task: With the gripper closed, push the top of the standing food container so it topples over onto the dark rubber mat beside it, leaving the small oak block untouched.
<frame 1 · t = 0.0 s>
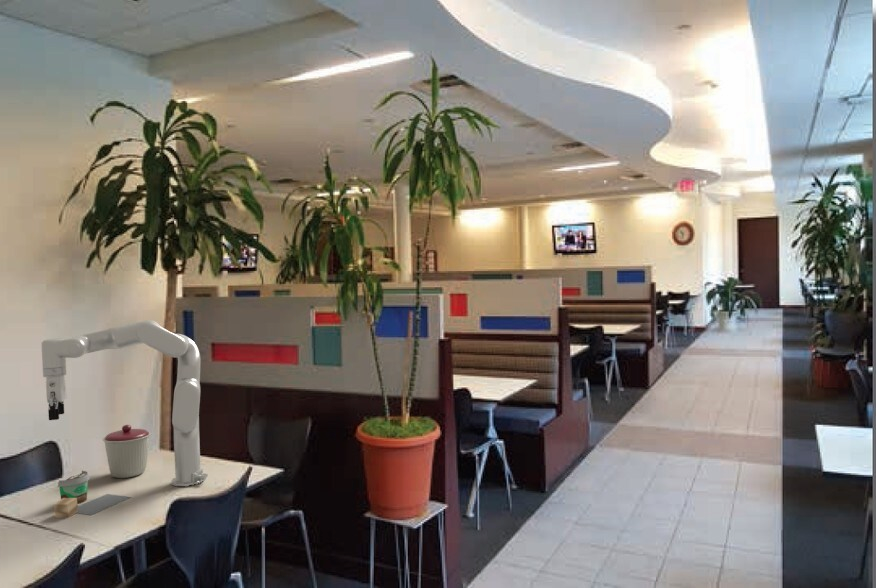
hand: (56, 416, 237), 31 cm above the table, tool pointing down, fingers open, 9 cm apart
oak block: (67, 514, 221), on the table, tilted 5°, touching mat
canister: (128, 474, 266), on the table
food container: (79, 502, 234), on the table
mat: (99, 505, 231), on the table
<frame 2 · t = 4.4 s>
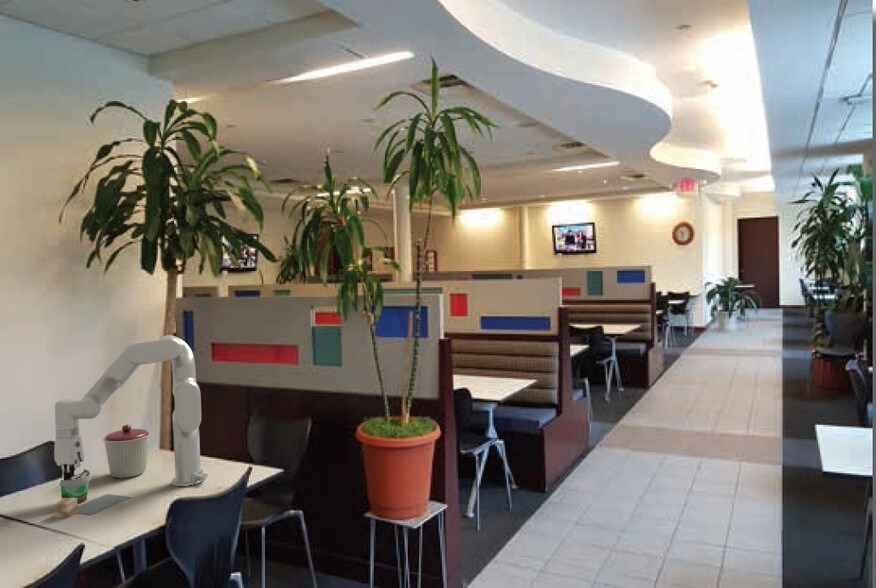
hand: (69, 481, 235), 7 cm above the table, tool pointing down, fingers closed
food container: (78, 502, 234), on the table, touching gripper
everything else where it was.
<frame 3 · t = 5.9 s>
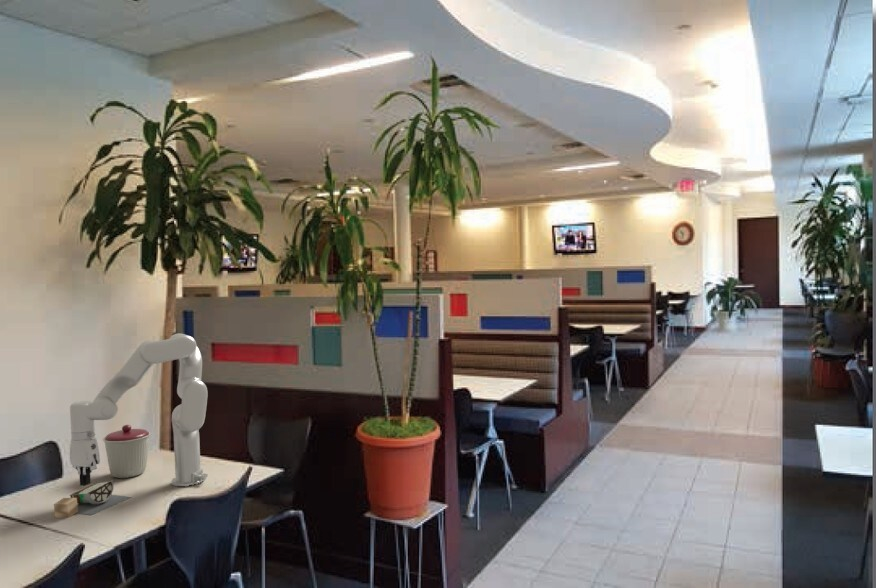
hand: (85, 484, 233), 7 cm above the table, tool pointing down, fingers closed
food container: (82, 497, 234), point 2 cm above the table, touching mat
everything else where it was.
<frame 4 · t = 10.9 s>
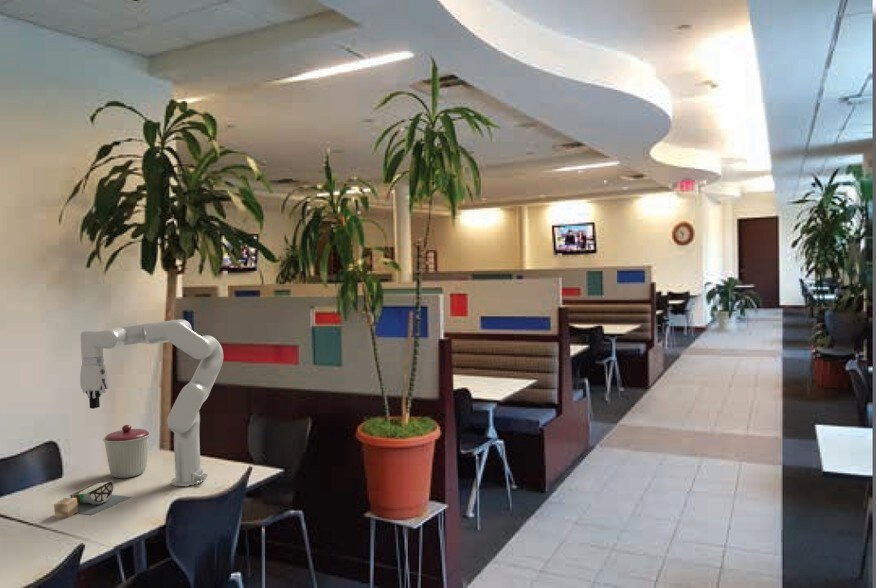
hand: (94, 407, 248), 32 cm above the table, tool pointing down, fingers closed
nothing on the table moved.
at the end: food container tilted 79°; food container inside the target area on the mat (4.1 cm from its centre), point 1.8 cm above the mat's base; oak block moved 0.3 cm from its start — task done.
